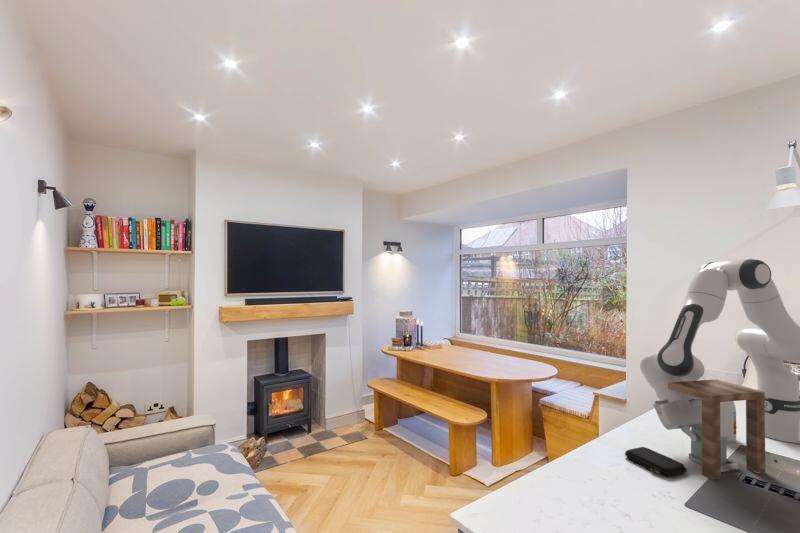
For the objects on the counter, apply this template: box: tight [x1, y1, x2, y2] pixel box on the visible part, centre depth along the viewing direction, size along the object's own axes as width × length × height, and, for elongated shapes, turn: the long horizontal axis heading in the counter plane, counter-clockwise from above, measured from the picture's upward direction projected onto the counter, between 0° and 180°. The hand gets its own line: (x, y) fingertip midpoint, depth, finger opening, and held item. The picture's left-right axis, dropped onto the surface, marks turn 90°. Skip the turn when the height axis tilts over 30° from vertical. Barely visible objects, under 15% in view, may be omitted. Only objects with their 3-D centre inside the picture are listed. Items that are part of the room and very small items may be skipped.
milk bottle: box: [720, 401, 737, 443], centre depth 139 cm, size 8×8×20 cm
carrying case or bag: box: [624, 446, 688, 478], centre depth 118 cm, size 11×3×15 cm
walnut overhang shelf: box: [668, 379, 766, 481], centre depth 119 cm, size 20×14×24 cm
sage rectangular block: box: [690, 426, 728, 465], centre depth 121 cm, size 4×8×9 cm, turn 13°
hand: (704, 439), depth 122 cm, fingers open, 4 cm apart
